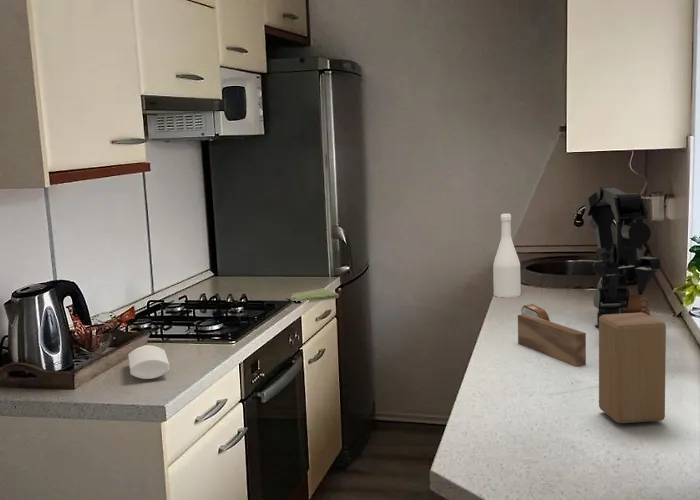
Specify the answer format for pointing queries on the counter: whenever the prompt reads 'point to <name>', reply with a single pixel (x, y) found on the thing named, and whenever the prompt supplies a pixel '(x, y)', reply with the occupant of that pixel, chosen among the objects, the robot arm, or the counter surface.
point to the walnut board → (552, 339)
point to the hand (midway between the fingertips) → (626, 296)
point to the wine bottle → (506, 264)
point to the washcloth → (315, 295)
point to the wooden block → (632, 367)
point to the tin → (535, 311)
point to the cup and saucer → (636, 305)
